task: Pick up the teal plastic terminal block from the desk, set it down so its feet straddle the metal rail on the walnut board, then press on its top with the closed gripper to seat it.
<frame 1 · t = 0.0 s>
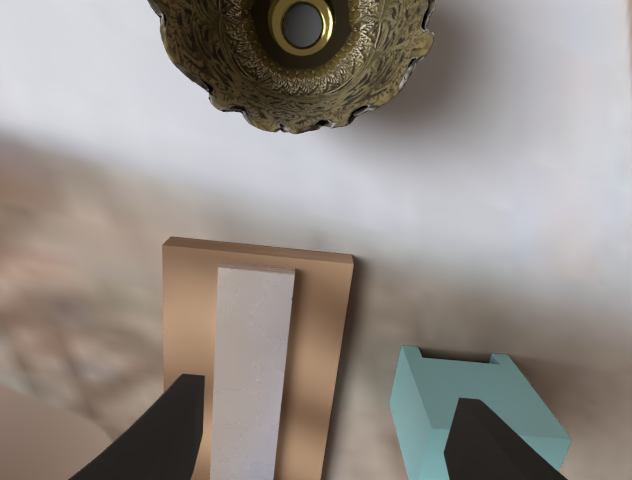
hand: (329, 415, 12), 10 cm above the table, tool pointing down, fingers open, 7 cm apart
cup: (302, 26, 18), on the table
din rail: (245, 420, 22), on the mounting board, point 2 cm above the table
terminal block: (447, 379, 24), on the table
mounting board: (250, 393, 24), on the table
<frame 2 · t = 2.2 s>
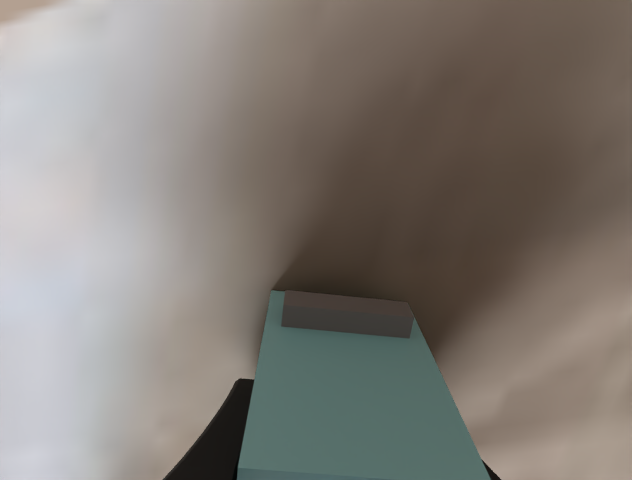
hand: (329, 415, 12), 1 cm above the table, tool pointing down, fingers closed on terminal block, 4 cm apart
terminal block: (327, 382, 13), on the table, touching gripper
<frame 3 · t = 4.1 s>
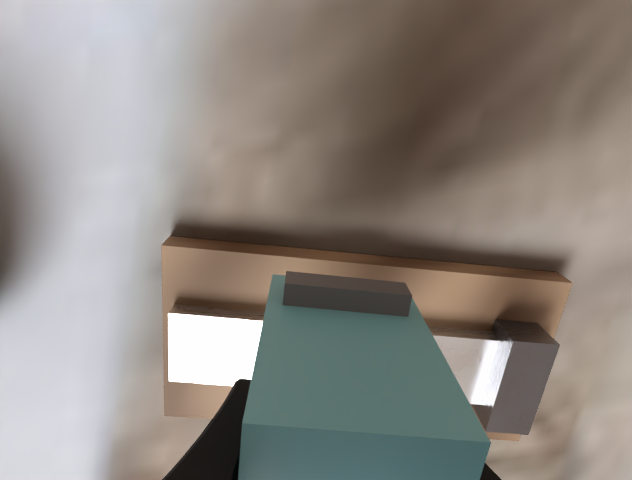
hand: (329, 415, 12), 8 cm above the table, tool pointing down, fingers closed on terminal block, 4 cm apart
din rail: (360, 364, 19), on the mounting board, point 2 cm above the table
terminal block: (327, 367, 13), point 7 cm above the table, touching gripper
mounting board: (355, 338, 21), on the table
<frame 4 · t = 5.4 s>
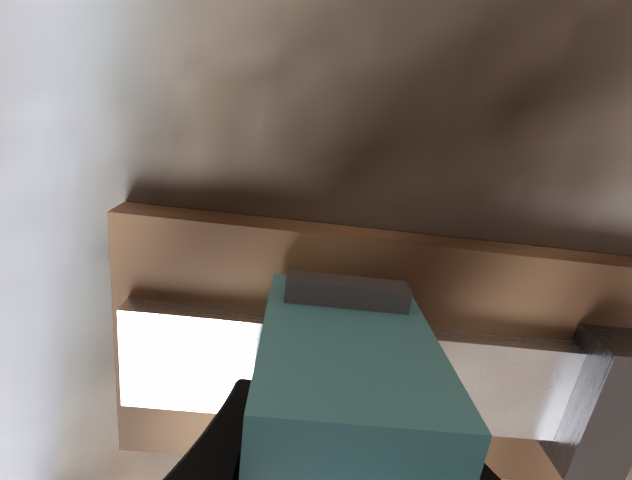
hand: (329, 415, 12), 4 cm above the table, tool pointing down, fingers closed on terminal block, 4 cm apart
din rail: (389, 385, 13), on the mounting board, point 2 cm above the table
terminal block: (328, 367, 13), point 2 cm above the table, touching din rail, gripper
mounting board: (379, 347, 15), on the table
when the fingers open (4 cm above the table, at t = 6.0 s): terminal block stays where it is, resting on mounting board.
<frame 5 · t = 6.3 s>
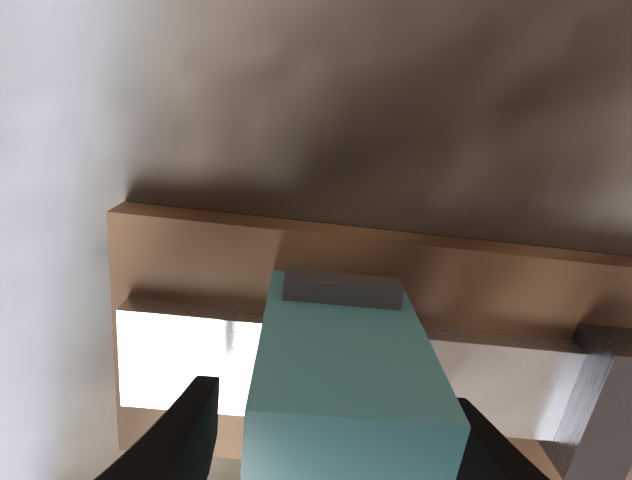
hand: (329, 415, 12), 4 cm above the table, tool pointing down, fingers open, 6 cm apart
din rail: (389, 385, 13), on the mounting board, point 2 cm above the table
terminal block: (326, 357, 14), point 1 cm above the table, touching mounting board
mounting board: (379, 347, 15), on the table
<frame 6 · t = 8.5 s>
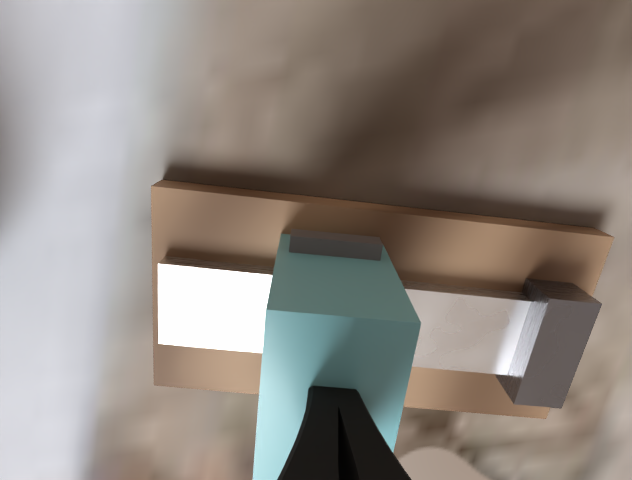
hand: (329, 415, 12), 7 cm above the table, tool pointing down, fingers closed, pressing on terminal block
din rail: (373, 327, 17), on the mounting board, point 2 cm above the table
terminal block: (323, 306, 17), point 1 cm above the table, touching gripper, mounting board
mounting board: (367, 302, 19), on the table
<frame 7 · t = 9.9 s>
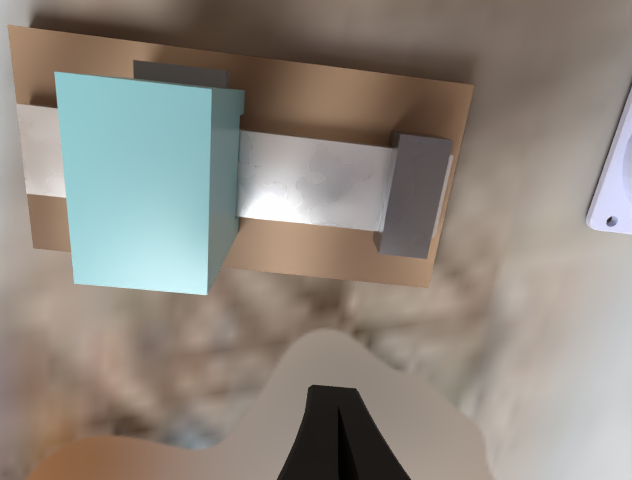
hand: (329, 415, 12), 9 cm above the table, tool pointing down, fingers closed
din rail: (238, 175, 17), on the mounting board, point 2 cm above the table
terminal block: (193, 160, 17), point 1 cm above the table, touching mounting board
mounting board: (245, 166, 19), on the table
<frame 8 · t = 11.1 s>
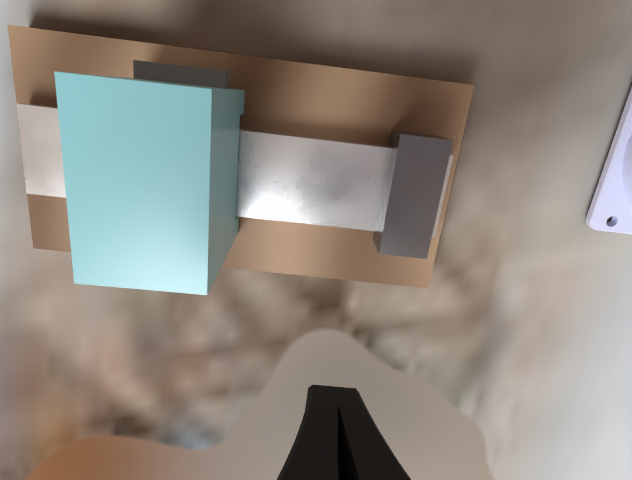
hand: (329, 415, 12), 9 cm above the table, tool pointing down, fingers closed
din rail: (238, 175, 17), on the mounting board, point 2 cm above the table
terminal block: (193, 160, 17), point 1 cm above the table, touching mounting board
mounting board: (245, 166, 19), on the table
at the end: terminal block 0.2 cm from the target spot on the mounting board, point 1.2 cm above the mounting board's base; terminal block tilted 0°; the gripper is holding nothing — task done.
